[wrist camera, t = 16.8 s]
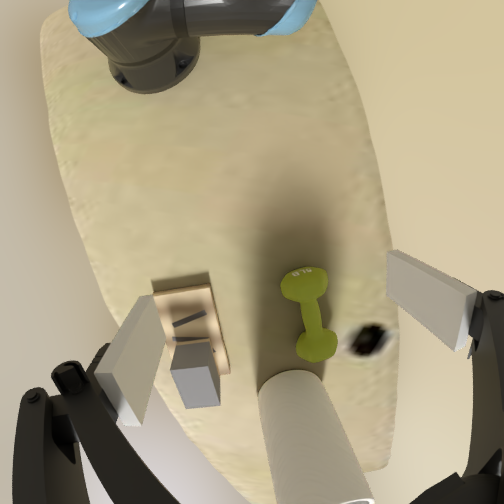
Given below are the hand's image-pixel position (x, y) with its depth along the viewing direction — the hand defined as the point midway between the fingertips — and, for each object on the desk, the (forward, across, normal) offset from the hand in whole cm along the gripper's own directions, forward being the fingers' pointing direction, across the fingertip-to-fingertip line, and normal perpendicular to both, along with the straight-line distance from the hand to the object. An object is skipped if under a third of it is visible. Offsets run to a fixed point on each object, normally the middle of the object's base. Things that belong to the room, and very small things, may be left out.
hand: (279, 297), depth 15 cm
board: (+31, -12, -19) cm, 38 cm away
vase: (+31, +4, -38) cm, 49 cm away
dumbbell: (+31, +9, -18) cm, 37 cm away
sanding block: (+29, -12, -24) cm, 39 cm away
